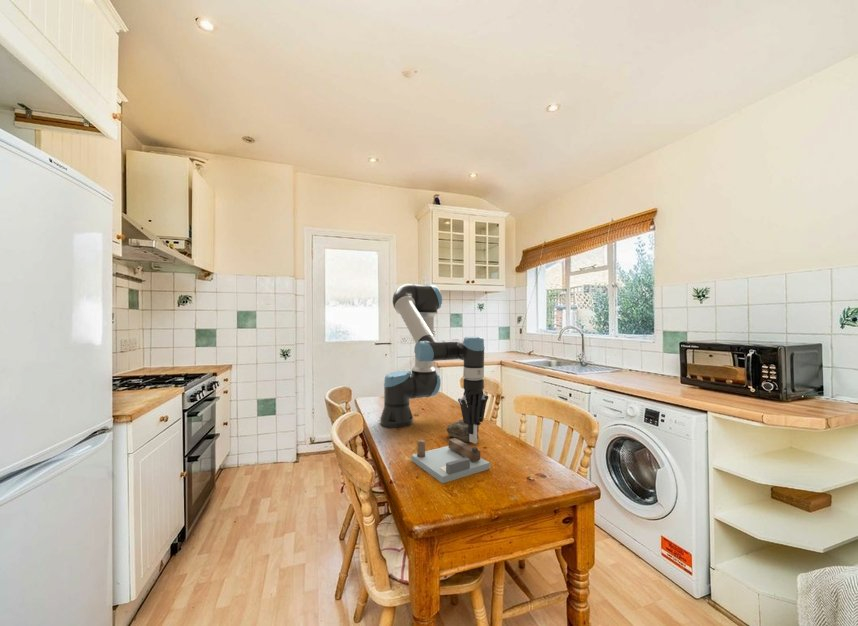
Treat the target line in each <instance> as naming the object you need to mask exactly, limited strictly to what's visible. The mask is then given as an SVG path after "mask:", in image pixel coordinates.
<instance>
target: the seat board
mask: <svg viewBox="0 0 858 626" xmlns="http://www.w3.org/2000/svg"><path fill="white" fill-rule="evenodd" d="M416 442H417V443H416V444H417V445H416V446H417V447H416V448H417V449H416V453H414V454H411V455H410V457H411V460H410V461H411V462H413V463H414V464H415V465H417V466H418V467H419V468H421V469H422V470H423V471H425V472H426V473H427V474H429V475H430V476H432V477H433V478H434V479H436V480H437V481H438V482H439V483H441V484H446V483H448V482H451V481H455V480H458V479H461V478H465V477H468V476H471V475H474V474H478V473H481V472H483V471H487V470H490V469H491V462H490V461H488V460H486V459H484V458H482V457H480V460H479V461H475V462H472V461H471V460H470V459H469V458H467V457H466V458H465V457H464V456H462V455H460V454H458V453H457V452H455V451H453V450H451V449H450V448H448V446H449V445H446V446H442V447H439V448H434V449H430V450H426V440H424V439H418V440H417V441H416Z"/></svg>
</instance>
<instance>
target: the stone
mask: <svg viewBox="0 0 858 626" xmlns="http://www.w3.org/2000/svg"><path fill="white" fill-rule="evenodd" d="M446 432H447V434H448V436H450V437H451V438H452V439H453V438H456V439H458V440H460V441H462V442H464V443H471V442H470V441H469V433H468V424H465V423H464V421H463V419H459V420H457V421H455V422H453V423H451V424H449V425H447V427H446ZM477 440H479V432H478V433H477Z"/></svg>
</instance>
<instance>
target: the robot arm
mask: <svg viewBox="0 0 858 626" xmlns="http://www.w3.org/2000/svg"><path fill="white" fill-rule="evenodd" d="M442 304H443V295H442V293H441V290H440V289H439V287H437V285H435V284H434V285H432V284H418V283H417V284H413V283H405V284H402V285H401V286H399V287H398V288H396V289H395V291H394V293H393V296H392V306H393V308H394V310H395V311H396V313H397V314H399V315H400V316H401V319H402V320H403V322H404V323H405V326H406V328H407V330H408V332H409V333H410V335H411V337H412V339H413V340H414V343H415V345H414V359H415V360H414V366H413V367H412V368H411V373H410V371H407V370H395V371H392V372H389V373H388V374H387V373H386V375H385V377H384V383H383V388H384V389H383V391H384V393H383V394H384V395H383V396H384V397H383V401H384V402H383V403H384V404H383V405H384V406H383V409H382V411H381V414H380V418H379V419H380V421H379V423H380V425H381V426H383V427H385V428H386V427H387V428H392V429H395V428H396V429H397V428H406V427H409V426H411V425H413V423H414V416H413V414H412V411H411V410H412V409H411V407H410V400H412V399H414V400H415V399H421V398H422V399H423V398H430V397H434V396H436V395H437V394H438V393H439V391H440V388H441V383H442V382H441V377H440V374H439V373H438V372H437V369H436V368H435V367H434V361H436V362H437V361H451V360H452V361H453V360H460V361H463V376H462V377H463V386H462V387H463V390H464V392H463V396H462V397H461V398H458V399H457V401H458V403H459V404H460V409H461V416H462V420H463V421H464V423H465V424H468V433H469V441H470V442H469V443H472V444H478V439H477V433H478V434H479V426H480V425H482V424H481V423H483V421H484V417H485V413H486V407H487V402H488V400H489V396H488V395H486V394H484V393H485V392H484V391H483V390H484V389H485V380H484V378H485V342H484V341H485V340H484V338H483V337H482V336H475V335H474V336H469V335H468V336H465V337H464V338H463V340H460V339H451V340H437V339H436V338H435V335H434V329H435V328H434V320H435V319H434V317H435V316H436V314H438V310H439V309H440V308H441V307H442Z"/></svg>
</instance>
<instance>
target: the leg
mask: <svg viewBox="0 0 858 626" xmlns="http://www.w3.org/2000/svg"><path fill="white" fill-rule="evenodd" d="M447 446H448V448H450V449H451V450H453V451H455V452H457V453H458V454H460V455H462V456H464V457H465V458H466V457H467V458H469V459H470V460H471V461H472V462H475V461H479V460H480V458H481V450H479V449H478V447H477V446H472V445H469V444H468V443H467V442H464V441H462V440H459V439H456V438H453V437H452V438H449V439H448V445H447Z"/></svg>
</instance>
